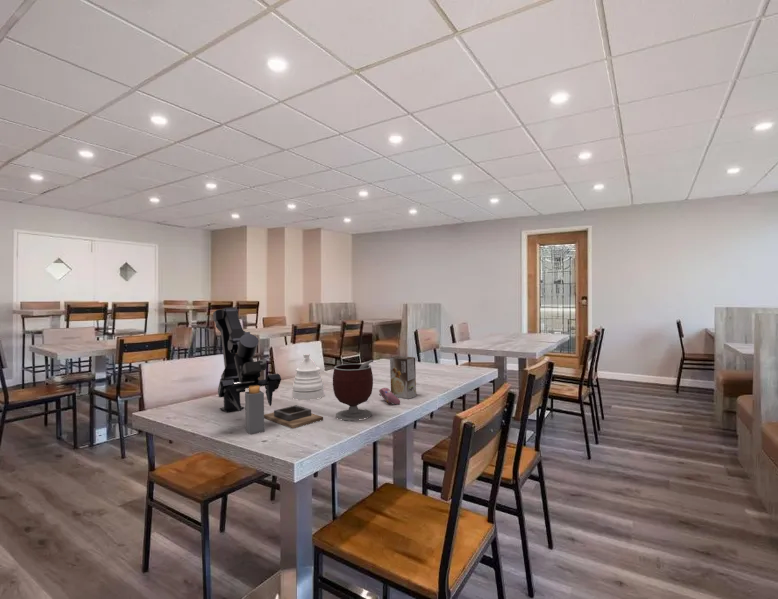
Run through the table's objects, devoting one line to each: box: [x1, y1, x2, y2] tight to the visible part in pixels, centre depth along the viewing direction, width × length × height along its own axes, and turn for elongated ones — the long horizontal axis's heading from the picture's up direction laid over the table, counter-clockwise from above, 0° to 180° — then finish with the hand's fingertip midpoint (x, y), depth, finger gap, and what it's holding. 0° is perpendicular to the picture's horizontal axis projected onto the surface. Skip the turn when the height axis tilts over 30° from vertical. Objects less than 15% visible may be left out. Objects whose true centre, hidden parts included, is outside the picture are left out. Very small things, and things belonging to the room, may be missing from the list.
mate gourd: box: [332, 359, 374, 421], centre depth 141 cm, size 16×14×20 cm
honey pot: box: [291, 353, 325, 401], centre depth 170 cm, size 13×13×18 cm
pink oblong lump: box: [378, 387, 401, 405], centre depth 159 cm, size 10×5×7 cm, turn 21°
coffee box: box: [389, 355, 417, 400], centre depth 168 cm, size 9×6×16 cm
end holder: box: [264, 404, 324, 429], centre depth 139 cm, size 18×12×3 cm, turn 47°
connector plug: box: [244, 385, 265, 435], centre depth 127 cm, size 4×4×14 cm
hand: (255, 407), depth 126 cm, fingers open, 9 cm apart
